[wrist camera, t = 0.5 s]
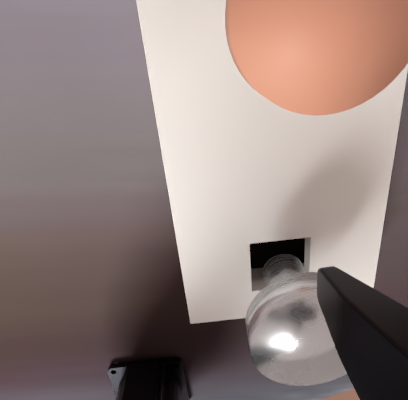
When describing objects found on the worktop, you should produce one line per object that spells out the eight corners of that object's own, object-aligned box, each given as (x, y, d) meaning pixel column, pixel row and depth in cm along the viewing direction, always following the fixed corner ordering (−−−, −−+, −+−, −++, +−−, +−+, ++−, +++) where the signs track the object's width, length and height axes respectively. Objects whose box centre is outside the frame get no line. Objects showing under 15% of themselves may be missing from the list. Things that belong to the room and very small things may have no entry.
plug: (326, 301, 20) (368, 379, 16) (238, 310, 21) (253, 391, 16) (332, 224, 18) (384, 289, 13) (232, 235, 18) (247, 304, 13)
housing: (344, 266, 25) (370, 304, 21) (190, 283, 25) (190, 323, 22) (380, -78, 16) (436, -114, 12) (138, -49, 16) (123, -76, 12)
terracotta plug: (343, 85, 15) (416, 104, 10) (221, 99, 15) (237, 124, 10) (355, -68, 12) (459, -140, 8) (210, -51, 12) (222, -110, 8)
